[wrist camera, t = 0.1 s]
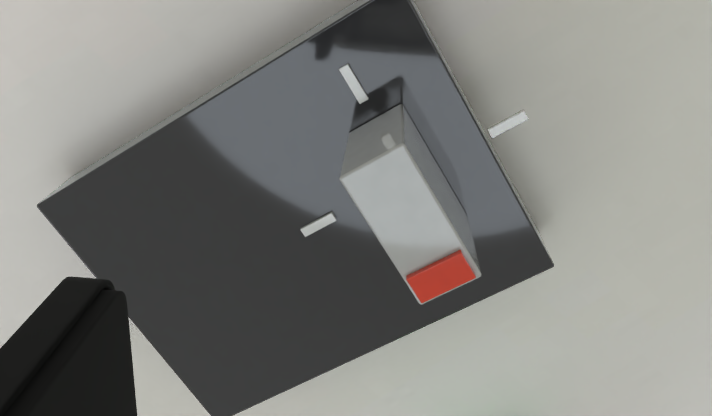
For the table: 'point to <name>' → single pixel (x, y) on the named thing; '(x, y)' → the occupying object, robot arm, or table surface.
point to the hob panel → (289, 211)
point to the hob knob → (409, 205)
